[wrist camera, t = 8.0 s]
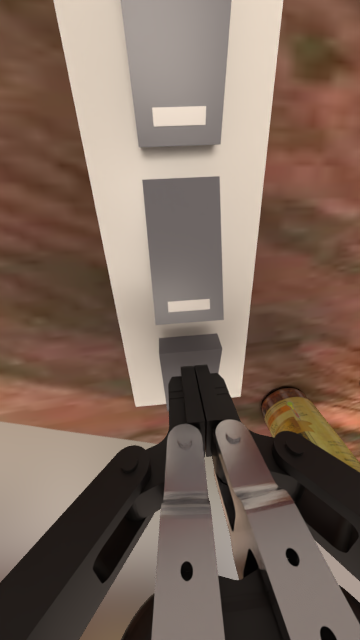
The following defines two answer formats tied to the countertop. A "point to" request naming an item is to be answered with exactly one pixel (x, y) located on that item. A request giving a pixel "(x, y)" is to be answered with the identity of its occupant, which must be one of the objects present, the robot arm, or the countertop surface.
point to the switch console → (172, 175)
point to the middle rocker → (185, 248)
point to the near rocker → (177, 69)
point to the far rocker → (188, 355)
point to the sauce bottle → (304, 423)
